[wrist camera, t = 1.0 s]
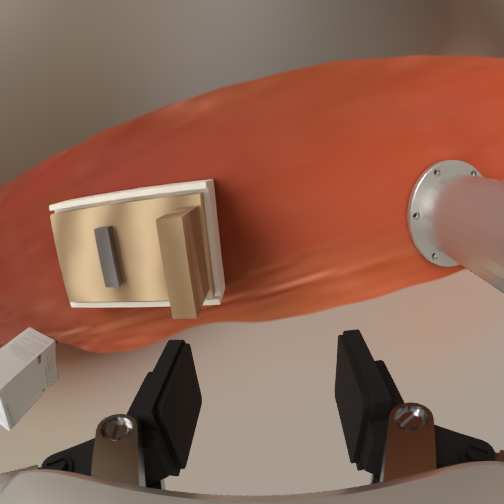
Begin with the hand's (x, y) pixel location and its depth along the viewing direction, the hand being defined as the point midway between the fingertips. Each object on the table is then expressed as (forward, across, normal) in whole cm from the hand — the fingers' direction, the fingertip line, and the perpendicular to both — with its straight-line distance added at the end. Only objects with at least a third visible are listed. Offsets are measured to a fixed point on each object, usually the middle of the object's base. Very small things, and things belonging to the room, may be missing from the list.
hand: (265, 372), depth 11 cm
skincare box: (+24, +36, +16) cm, 46 cm away
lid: (+20, +14, 0) cm, 24 cm away
